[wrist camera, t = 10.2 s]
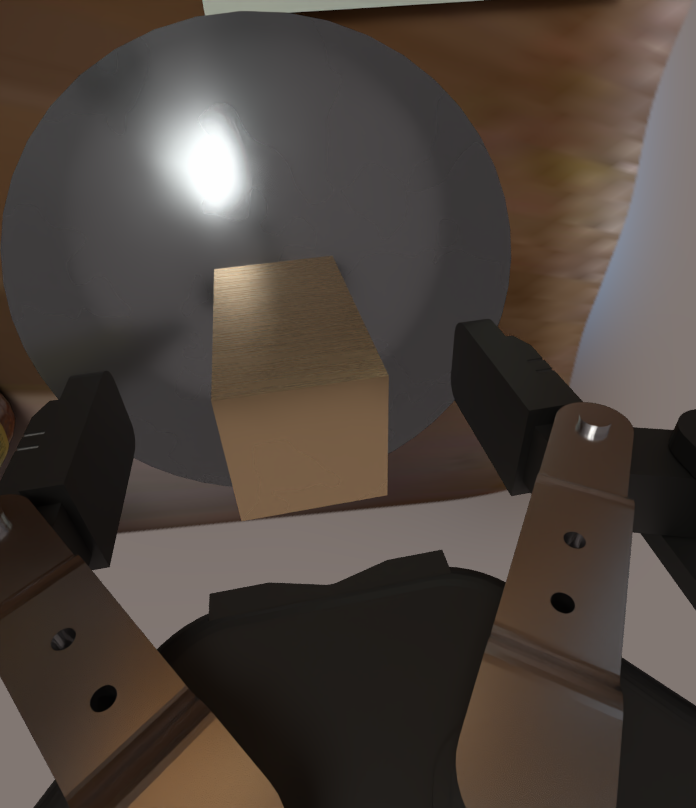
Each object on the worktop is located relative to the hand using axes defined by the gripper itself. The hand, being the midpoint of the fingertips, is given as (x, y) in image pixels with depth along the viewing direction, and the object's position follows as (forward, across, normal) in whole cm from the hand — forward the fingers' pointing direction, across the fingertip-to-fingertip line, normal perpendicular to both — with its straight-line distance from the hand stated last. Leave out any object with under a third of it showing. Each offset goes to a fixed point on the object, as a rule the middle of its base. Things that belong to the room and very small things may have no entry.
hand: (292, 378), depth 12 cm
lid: (+4, 0, 0) cm, 4 cm away
